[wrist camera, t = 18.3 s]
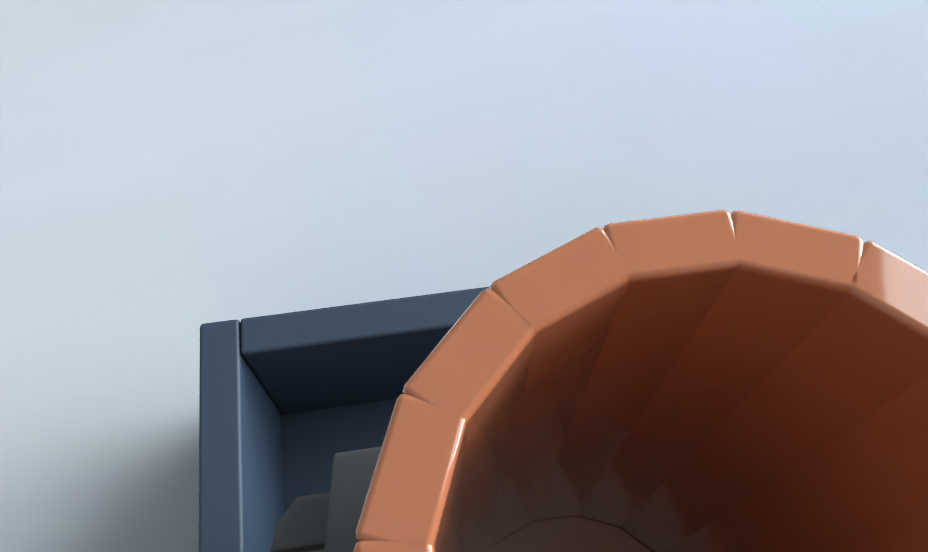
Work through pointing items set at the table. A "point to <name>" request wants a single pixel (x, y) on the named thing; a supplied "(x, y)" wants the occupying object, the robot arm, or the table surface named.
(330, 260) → the table surface
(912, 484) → the cup
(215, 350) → the bin
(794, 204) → the table surface
